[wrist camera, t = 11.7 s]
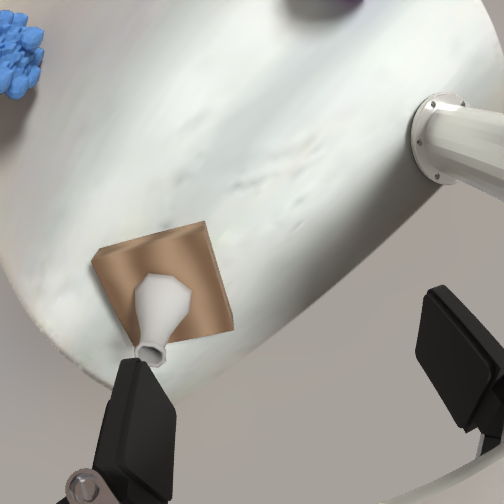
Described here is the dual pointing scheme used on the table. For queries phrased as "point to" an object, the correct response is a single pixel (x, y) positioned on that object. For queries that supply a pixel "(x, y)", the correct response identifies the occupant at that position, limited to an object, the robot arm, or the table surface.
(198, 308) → the flat wooden block
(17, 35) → the grapes
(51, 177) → the table surface
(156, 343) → the flask
